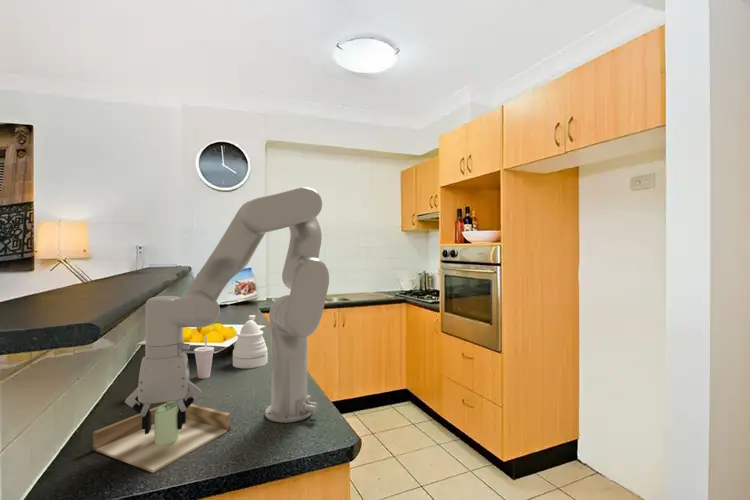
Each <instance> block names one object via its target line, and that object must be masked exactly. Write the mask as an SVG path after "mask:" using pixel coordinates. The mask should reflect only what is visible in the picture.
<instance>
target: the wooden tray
mask: <svg viewBox="0 0 750 500" xmlns="http://www.w3.org/2000/svg"><path fill="white" fill-rule="evenodd" d="M168 402H171V401H168ZM168 402H164V403H163V404H159V405H157V406H155V407H152V408H149V410H150V412H151V430H150V432H149V433H148V434H145V429H142V417H141V416H140V414H139V413H138V414H135V415H133V416H130V417H127V418H125V419H123V420H120V421H117V422H115V423H112V424H109V425H107V426H104V427H101V428H100V429H96V430H95V431H93V432H92V433H93V434H92V445H93V446H92V447H93V449H92V450H93V451H94V452H97V453H100V454H103V455H105V456H108V457H111V458H113V459H116V460H118V461H122V462H124V463H127V464H129V465H131V466H134V467H137V468H140V469H142V470H145V471H147V472H150V473H151V474H152V473H153V474H154V473H156V472H157V471H159V470H161V469H162V468H165V467H166V466H168V465H170V464H171V463H173V462H175V461H177V460H179V459H180V458H182V457H184V456H186V455H188V454H190V453H191V452H193V451H195V450H196V449H199V448H201V447H202V446H204V445H206V444H208V443H209V442H211V441H213V440H214V439H216V438H218V437H221V436H222V435H224V434H226V433H228V432H229V431H231V413H230V412H228V411H227V412H226V411H222V410H218V409H215V408H210V407H206V406H203V405H202V406H201V405H198V404H193V403H192V404H191V405H190V406H189V407H188V408H187V409H186V423H185V424H183V425H182V429H179V438H178V439H177V440H176V441H175V442H173V443H170V444H166V445H157V444H155V442H154V414H155V411H156V410H157V409H158V408H159V407H161V406H162V405H164V404H166V403H168Z"/></svg>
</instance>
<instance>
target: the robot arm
mask: <svg viewBox="0 0 750 500" xmlns="http://www.w3.org/2000/svg"><path fill="white" fill-rule="evenodd" d="M322 208H323V200H322V198H321V195H320V193H319V192H317V190H315V189H313V188H311V187H308V186H307V187H306V186H303V187H297V188H294V189H291V190H286V191H282V192H279V193H275V194H270V195H266V196H261V197H257V198H254V199H251V200H249V201H246V202H244V203H243V204H242V205H241V207H240V208H239V209H238V211H237V212H236V214H235V216H234V217H233V218H232V220H231V222H230V223H229V225H228V228H227V229H226V230H225V232H224V234H223V236H222V237H221V238H220V240H219V242H218V244H217V245H216V246H215V248H214V250H213V251H212V252H211V254H210V256H209V257H208V258H207V260H206V262H205V264H204V265H203V266H202V267H201V269H200V270H199V272H198V273H197V275H196V276H195V278H194V280H193V281H192V283H191V284H190V286H189V288H188V290H186V292H185V295H184V296H183V297H179V296H177V295H160V296H153V297H150V298H148V299H147V300H146V302H145V307H144V308H145V309H144V313H145V315H144V316H145V327H144V329H145V334H144V335H145V339H144V340H145V341H144V343H145V346H144V347H145V349H144V351H145V356H143V357H142V359H141V363H140V368H139V373H138V374H139V376H138V385H137V387H136V388H135V389H134V390H133V392H132V393H130V394H129V396H128V397H127V398H126V399H125V401H124V403H125V404H127V405H128V407H130V408H132V410H134V411H135V412H136V413H138V414H140V416H141V417H142V429H145V434H148V433H149V432H150V430H151V412H150V409H151V405H152V404H157V403H167V402H170V401H176V402H177V404H178V406H179V412H178V429H182V425H183V424H185V423H186V409H187V408H188V407H189V406H190V405H191V404H193V402H194V401H196V399H197V398H199V396H200V395H201V394H202V389H201V388H199V387H198V386H197V385H196V384H194V382H192V381H191V379H190V367H189V365H190V364H189V359H188V354H187V353H186V352H185V351H187V350H190V347H191V346H190V345H191V344H190V343H187V342H186V343H185V342H184V340H183V339H184V337H183V333H184V331H183V330H184V328H205V327H209V326H211V325H213V324H214V323H215V322H216V321H218V319H219V318H220V317H219V316H220V313H221V306H220V304H219V302H218V301H217V300H218V299H219V298H220V295H221V293H222V292H223V290H224V289H225V288H226V286H227V285H228V284H229V282H230V281H231V280H232V279H233V278H234V277H235V276H237V275H239V273H241V272H242V271H243V270H244V269H245V268H246V267H247V266H248V264H249V263H250V260H252V257H253V255H254V253H255V252H256V250H257V248H258V246H259V245H260V243H261V241H262V240H263V238H264V236H265V234H266V233H269V232H273V231H277V230H282V229H286V228H288V229H289V233H290V237H289V238H290V239H289V244H288V250H287V253H286V257H285V261H284V264H283V269H282V272H281V273H282V275H281V279H282V283H283V284H284V286H285V287H287V289H289V290H290V291H289V294H288V295H282V296H280V297H278V298H277V299H275V301H273V303H272V304H271V306H270V308H269V314H268V320H269V322H268V323H269V329H270V338H271V339H270V341H271V342H270V343H271V344H270V345H271V354H270V355H271V358H270V359H271V361H270V363H271V365H270V366H271V368H270V370H271V373H270V374H271V378H270V379H271V381H270V382H271V385H270V387H271V388H270V389H271V392H270V396H271V397H270V398H271V399H270V400H271V401H270V403H271V404H270V405H268V406H267V407H266V408H265V411H264V413H265V418H266V419H268V420H269V421H271V422H276V423H281V424H283V423H285V424H286V423H294V422H295V423H296V422H298V421H303V420H305V419H307V418H308V417H310V416H311V415H315V414H317V413H318V411H319V410H318V408H319V403H318V402H315V401H312V397H311V396H312V395H309V394H308V349H309V347H308V338H307V337H309V336H311V335H312V334H314V333H315V331H316V330H317V329H318V327H319V325H320V323H321V320H322V316H323V312H324V308H325V303H326V300H327V293H328V290H329V285H330V273H329V268H328V267H327V266H326V264H325V263H324V262H323V260H321V259H319V257H320V251H321V246H322V235H323V234H322V230H321V226H320V223H319V220H318V219H317V217H318V215H320V213H321V212H322ZM189 392H191V393H192V394H191V395H189V397H188V394H189ZM136 398H137V400H136ZM186 398H187V399H186ZM127 405H126V406H127Z"/></svg>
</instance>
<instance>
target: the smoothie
mask: <svg viewBox="0 0 750 500" xmlns="http://www.w3.org/2000/svg"><path fill="white" fill-rule="evenodd" d="M207 338H208V337H207V335H205V336H204V346H201V347H200V346H199V347H196V348H194V349H193V353H194V356H195V357H194V358H195V363H196V370H197V378H198V379H208V378H210V377H211V371H212V363H213V357H214V356H213V354H214V352H215V347H214V346H208V342H207V341H208V339H207Z"/></svg>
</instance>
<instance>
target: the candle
mask: <svg viewBox="0 0 750 500" xmlns="http://www.w3.org/2000/svg"><path fill="white" fill-rule="evenodd" d="M165 403H166V404H165ZM165 403H163V404H164V405H162V404H161V405H162V406H161V407H159V408H158V409H157V410H156V411H155V414H154V442H155V444H157V445H166V444H170V443H173V442H175V441H176V440H177V439H178V438H179V429H178V412H179V406H178V404H177V402H176V401H171V402H170V401H168V403H167V402H165Z"/></svg>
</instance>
